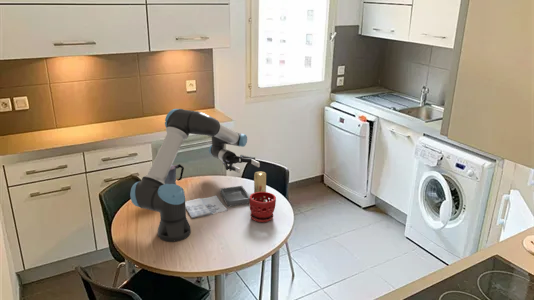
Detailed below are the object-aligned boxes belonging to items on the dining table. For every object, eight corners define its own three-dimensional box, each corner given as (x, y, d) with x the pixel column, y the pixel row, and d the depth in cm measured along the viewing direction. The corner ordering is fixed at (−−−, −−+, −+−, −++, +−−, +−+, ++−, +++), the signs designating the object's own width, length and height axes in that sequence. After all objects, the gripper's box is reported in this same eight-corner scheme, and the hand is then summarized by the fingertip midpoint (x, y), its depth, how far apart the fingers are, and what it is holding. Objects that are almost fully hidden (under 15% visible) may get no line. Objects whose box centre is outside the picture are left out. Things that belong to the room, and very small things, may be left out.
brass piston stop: (267, 202, 230) (267, 175, 224) (256, 204, 227) (256, 176, 222) (263, 197, 235) (263, 170, 230) (252, 198, 233) (252, 172, 228)
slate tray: (250, 203, 228) (250, 198, 227) (228, 206, 224) (228, 201, 223) (242, 190, 243) (242, 185, 242) (220, 193, 239) (220, 188, 238)
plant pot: (272, 225, 207) (273, 203, 202) (246, 222, 209) (246, 201, 205) (277, 213, 219) (278, 192, 214) (252, 210, 221) (252, 189, 217)
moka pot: (155, 194, 236) (152, 161, 230) (183, 189, 243) (180, 157, 236) (159, 201, 228) (156, 167, 221) (187, 196, 235) (185, 163, 228)
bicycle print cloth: (181, 203, 228) (181, 200, 227) (217, 197, 236) (217, 193, 235) (191, 220, 212) (191, 216, 211) (229, 212, 220) (229, 208, 219)
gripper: (244, 157, 257) (266, 168, 242) (209, 167, 242) (231, 180, 227) (244, 146, 254) (266, 156, 239) (209, 155, 239) (230, 167, 224)
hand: (249, 167), depth 233 cm, fingers open, 13 cm apart
